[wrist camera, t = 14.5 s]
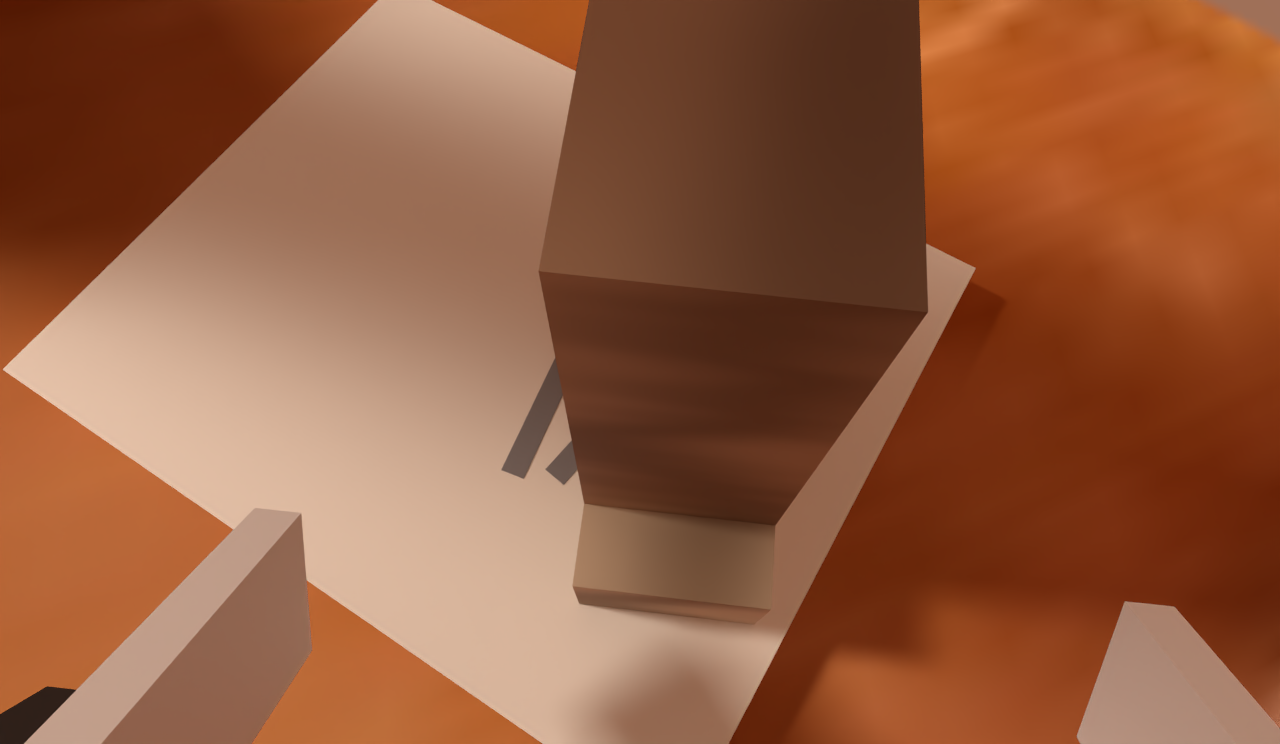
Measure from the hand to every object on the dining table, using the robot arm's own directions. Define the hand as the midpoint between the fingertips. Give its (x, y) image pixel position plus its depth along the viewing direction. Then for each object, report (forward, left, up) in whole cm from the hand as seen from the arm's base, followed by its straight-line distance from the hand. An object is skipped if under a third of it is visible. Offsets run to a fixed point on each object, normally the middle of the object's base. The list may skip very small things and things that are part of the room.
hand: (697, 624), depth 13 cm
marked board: (-8, +5, -7) cm, 12 cm away
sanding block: (-3, +5, -6) cm, 8 cm away
